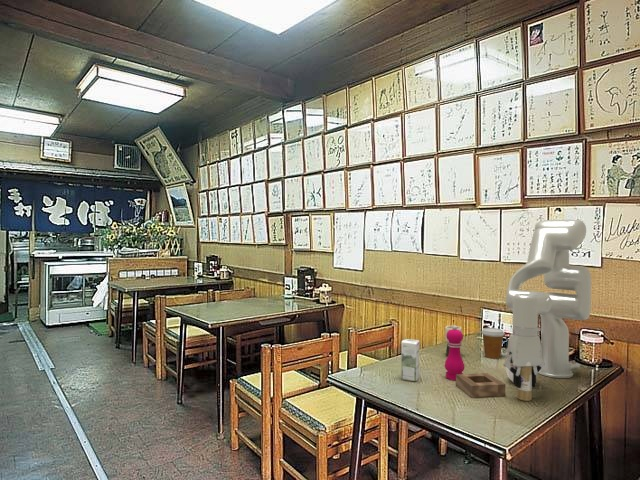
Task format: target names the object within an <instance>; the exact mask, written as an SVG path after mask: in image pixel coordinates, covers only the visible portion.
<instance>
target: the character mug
mask: <svg viewBox="0 0 640 480" xmlns="http://www.w3.org/2000/svg"><path fill="white" fill-rule="evenodd" d="M453 326H454V325H446V326H445V328H444V340H445V342H447V344H446V351H445V355H446V356H448V355H449V346H448V342H449V341H448V339H447V337H446V335H447V332H448V331H449V330H451V329H452V327H453ZM456 326H457V330H459V331H461V332H462V333H463V330H462V329H463V328H462V327H461V326H460V325H459V326H458V325H456ZM460 355H461V353H460ZM461 356H462V355H461Z"/></svg>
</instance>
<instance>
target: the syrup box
mask: <svg viewBox="0 0 640 480" xmlns="http://www.w3.org/2000/svg"><path fill="white" fill-rule="evenodd" d="M400 343H401V346H400V347H401V353H400V354H401V359H400V360H401V367H400V368H401V369H400V371H401V373H400V375H401V376H400V377H401V380H402V381H409V382H417V381H418V379H420V340H419V339H411V338H409V339H408V338H404V339H403V340H401V342H400Z"/></svg>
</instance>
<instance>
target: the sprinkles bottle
mask: <svg viewBox="0 0 640 480" xmlns="http://www.w3.org/2000/svg"><path fill="white" fill-rule="evenodd" d="M520 376H521V388H518V387H516V390H517V392H516V393H517V394H516V397H517V399H518V400H520V401H523V402H524V401H525V402H529V401H532V399H533V397H532V390H533V387H532V366H531V363H530V362H527V364H526V366H525V367H521V370H520Z"/></svg>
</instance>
